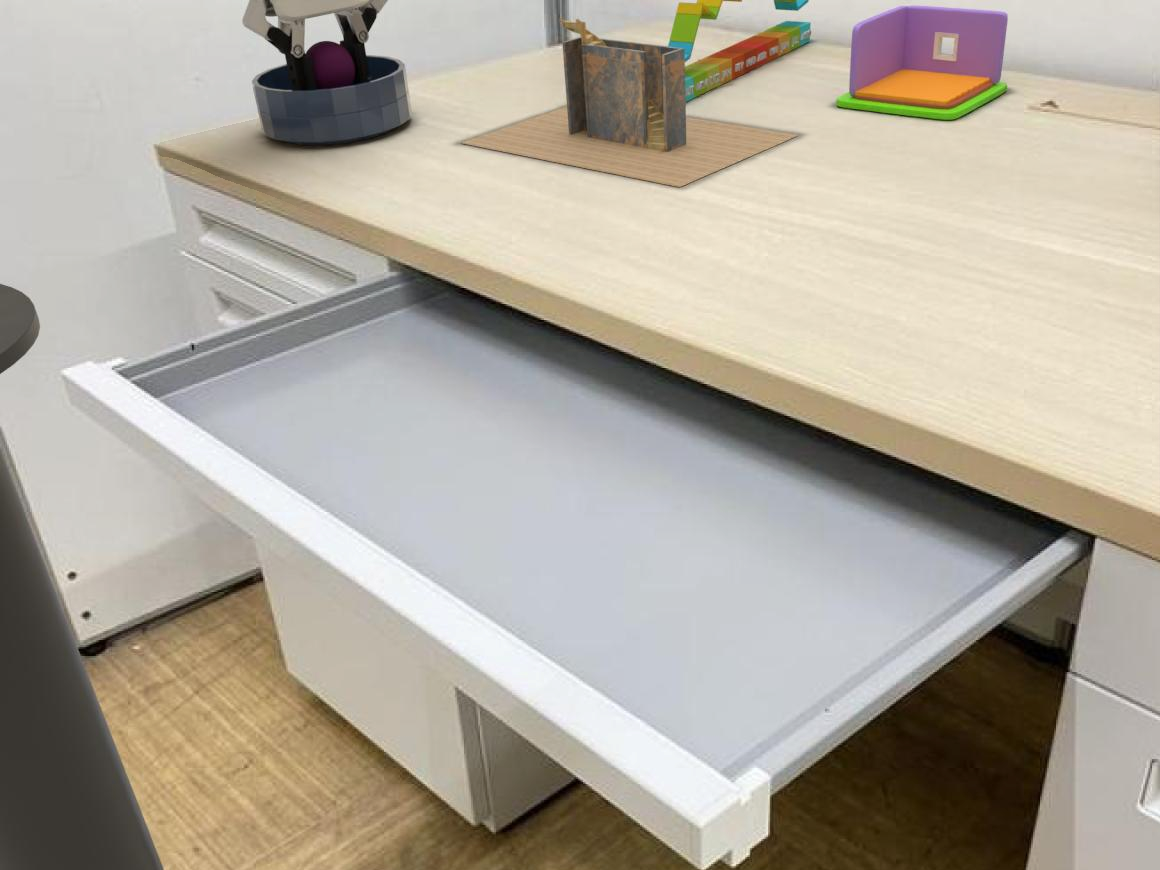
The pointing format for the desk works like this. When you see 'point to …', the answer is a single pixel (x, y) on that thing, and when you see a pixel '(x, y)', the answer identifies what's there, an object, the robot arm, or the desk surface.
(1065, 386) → the desk surface
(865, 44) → the dollhouse room
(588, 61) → the architectural model on board
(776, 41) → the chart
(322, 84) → the plum
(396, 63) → the bowl
